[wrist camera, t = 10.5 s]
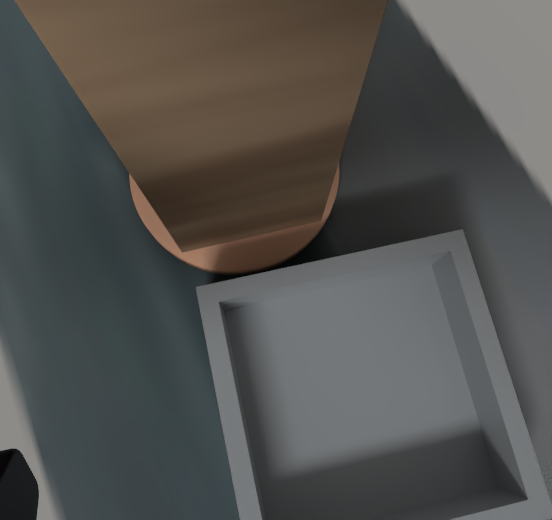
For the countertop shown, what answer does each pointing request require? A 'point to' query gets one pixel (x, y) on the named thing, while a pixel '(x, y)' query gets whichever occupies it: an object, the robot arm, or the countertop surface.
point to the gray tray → (370, 390)
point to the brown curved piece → (237, 241)
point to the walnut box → (218, 101)
